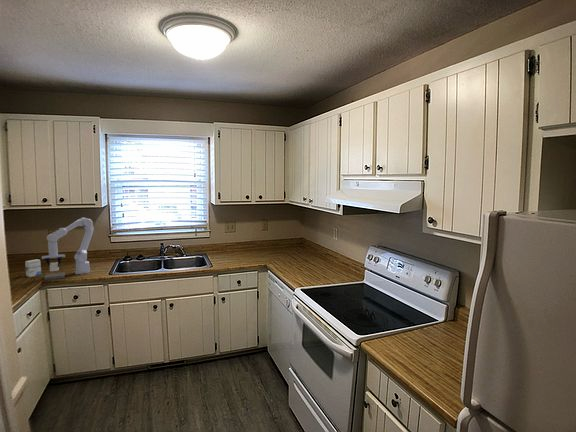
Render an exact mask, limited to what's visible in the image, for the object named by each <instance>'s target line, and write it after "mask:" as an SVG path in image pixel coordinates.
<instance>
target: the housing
mask: <svg viewBox="0 0 576 432" xmlns="http://www.w3.org/2000/svg"><path fill="white" fill-rule="evenodd" d="M59 270H60V267H58V261H56V262H50V268H49V272H59Z"/></svg>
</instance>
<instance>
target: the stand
mask: <svg viewBox="0 0 576 432" xmlns="http://www.w3.org/2000/svg"><path fill="white" fill-rule="evenodd" d="M65 275H66V272H57V273H56V272H55V273H48V274H45V276H44V277H43V278H44V281H53V280H61V279H64V278H65V277H66V276H65Z"/></svg>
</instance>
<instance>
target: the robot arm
mask: <svg viewBox="0 0 576 432" xmlns="http://www.w3.org/2000/svg"><path fill="white" fill-rule="evenodd" d="M78 227H83V228H84V230H85V232H84V235H83V237H82V241H81V243H80V246H79V249H78V250H77V251H76V253H75V254H74V256H73V258H74V260H75V273H74V274H75V275H81V274H82V275H83V274H89V273H90V271H91V268H90V261H88V260H87V259H88V251H87V250H88V248H89V245H90V243H91V240H92V236H93V234H94V230H95V227H94V222H93V220H92V219H90V218H87V217H81V218H79V219H77V220H75V221H74V222H72V223H71V224H69V225H68V226H66V227H59V228H58V230H56V231H53V232H52V233H50V234H48V235H47V236H46V240H47V248H48V249H47V250H48V255H42V256H41V260H45V262H46V264H47V265H48V268H49V269H50V263H51V259H57V262H58V267H59V268H60V263H61V261H62V260H63V259H62V258H66V254H59V249H58V241H59V239H61V238H62V237H64V236H66V235H67V234H68V232H70V231H71V230H73V229H75V228H78Z"/></svg>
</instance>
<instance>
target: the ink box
mask: <svg viewBox="0 0 576 432" xmlns="http://www.w3.org/2000/svg"><path fill="white" fill-rule="evenodd" d="M24 265H25V274H26V275H25V276H26V277H28V278H32V277H35V276H40V275H42V265H41V259H31V260H25V264H24Z"/></svg>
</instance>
